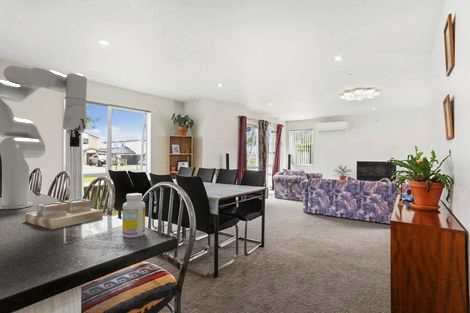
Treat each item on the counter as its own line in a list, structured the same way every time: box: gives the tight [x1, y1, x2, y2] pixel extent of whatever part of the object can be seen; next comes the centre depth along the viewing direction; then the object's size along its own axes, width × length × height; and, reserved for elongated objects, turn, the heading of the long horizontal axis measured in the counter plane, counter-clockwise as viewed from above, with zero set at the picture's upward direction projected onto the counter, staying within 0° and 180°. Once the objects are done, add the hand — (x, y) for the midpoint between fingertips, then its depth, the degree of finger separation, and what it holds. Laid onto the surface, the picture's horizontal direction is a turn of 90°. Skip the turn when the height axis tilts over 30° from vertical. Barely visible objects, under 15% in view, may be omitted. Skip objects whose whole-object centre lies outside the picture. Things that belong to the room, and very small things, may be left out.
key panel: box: [24, 198, 104, 230], centre depth 98 cm, size 18×18×7 cm
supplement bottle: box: [121, 192, 146, 239], centre depth 82 cm, size 7×7×13 cm
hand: (74, 146), depth 112 cm, fingers closed
